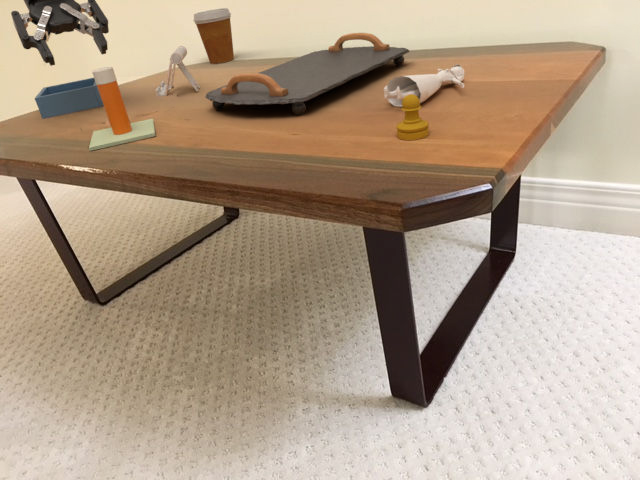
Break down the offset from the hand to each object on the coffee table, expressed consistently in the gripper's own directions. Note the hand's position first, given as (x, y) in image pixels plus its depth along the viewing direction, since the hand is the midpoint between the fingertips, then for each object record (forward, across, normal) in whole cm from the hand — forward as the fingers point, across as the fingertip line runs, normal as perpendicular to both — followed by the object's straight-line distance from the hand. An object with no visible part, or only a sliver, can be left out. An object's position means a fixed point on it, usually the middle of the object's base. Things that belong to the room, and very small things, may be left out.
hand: (78, 56), depth 90 cm
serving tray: (+20, +34, -4) cm, 40 cm away
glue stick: (+16, 0, 0) cm, 16 cm away
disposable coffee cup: (-15, +40, +32) cm, 54 cm away
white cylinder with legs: (+2, +19, +15) cm, 24 cm away
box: (-6, 0, +23) cm, 24 cm away
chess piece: (+46, +25, -29) cm, 60 cm away
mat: (+16, 0, 0) cm, 17 cm away
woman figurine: (+38, +39, -21) cm, 58 cm away
